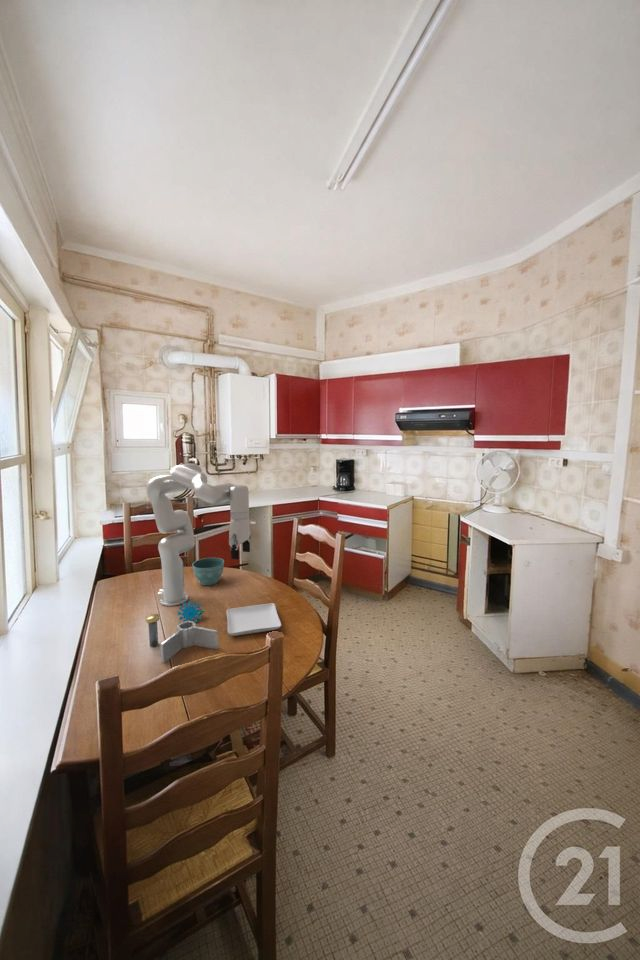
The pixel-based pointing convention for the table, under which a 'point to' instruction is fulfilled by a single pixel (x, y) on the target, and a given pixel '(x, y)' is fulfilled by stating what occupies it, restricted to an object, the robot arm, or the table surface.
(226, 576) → the table surface
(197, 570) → the teal bowl
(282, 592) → the table surface
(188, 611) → the blue spiky piece
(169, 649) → the hinge
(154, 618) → the pin
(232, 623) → the salad plate
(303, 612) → the table surface
